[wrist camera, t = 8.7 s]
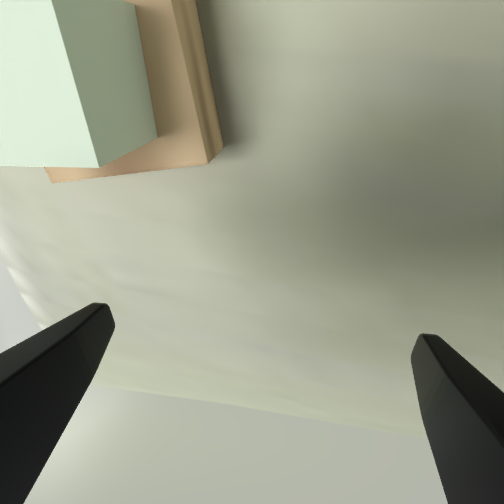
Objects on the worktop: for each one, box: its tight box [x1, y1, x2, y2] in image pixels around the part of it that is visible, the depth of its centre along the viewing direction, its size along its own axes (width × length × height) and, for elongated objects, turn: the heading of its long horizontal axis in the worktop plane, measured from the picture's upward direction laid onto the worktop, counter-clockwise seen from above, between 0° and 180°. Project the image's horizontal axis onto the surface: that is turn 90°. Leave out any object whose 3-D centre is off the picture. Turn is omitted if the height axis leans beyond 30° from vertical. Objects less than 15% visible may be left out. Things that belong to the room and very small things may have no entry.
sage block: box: [0, 0, 158, 168], centre depth 11 cm, size 5×5×5 cm
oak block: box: [44, 0, 224, 183], centre depth 15 cm, size 9×9×4 cm
